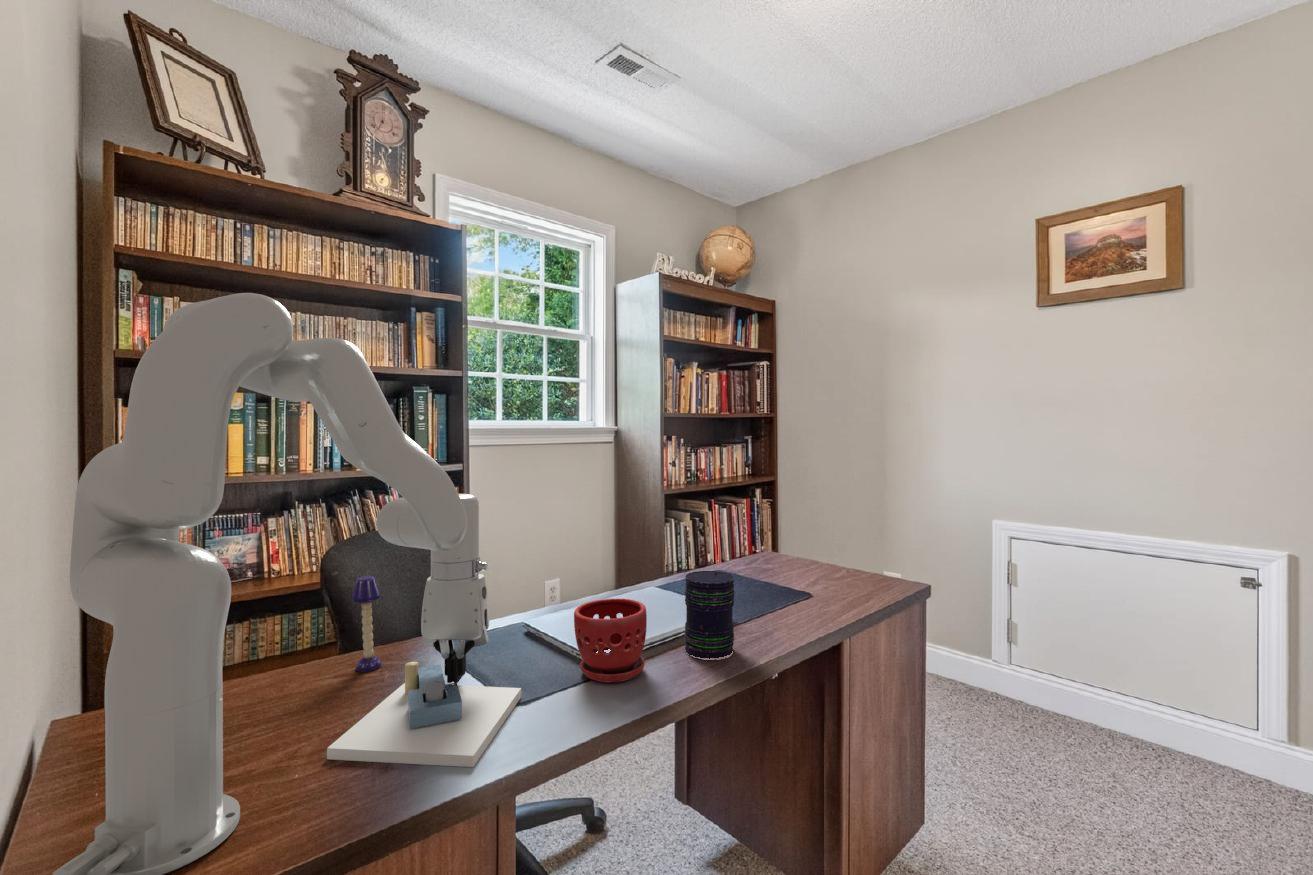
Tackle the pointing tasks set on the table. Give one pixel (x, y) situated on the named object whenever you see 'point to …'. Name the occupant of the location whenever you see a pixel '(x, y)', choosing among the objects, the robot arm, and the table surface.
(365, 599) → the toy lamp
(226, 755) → the table surface
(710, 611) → the storage jar
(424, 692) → the square nut with handle
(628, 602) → the plant pot
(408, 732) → the post board
